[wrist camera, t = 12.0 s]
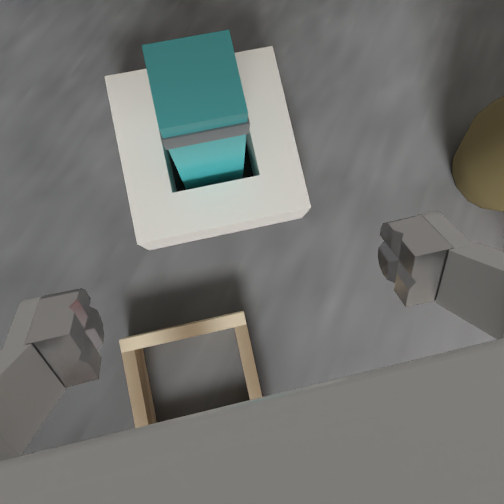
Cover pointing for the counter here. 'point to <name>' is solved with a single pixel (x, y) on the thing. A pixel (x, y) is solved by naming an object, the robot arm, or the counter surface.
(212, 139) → the plug
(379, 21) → the counter surface
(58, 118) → the counter surface
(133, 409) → the beige flat square frame
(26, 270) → the counter surface
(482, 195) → the squeeze bottle
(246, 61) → the port
